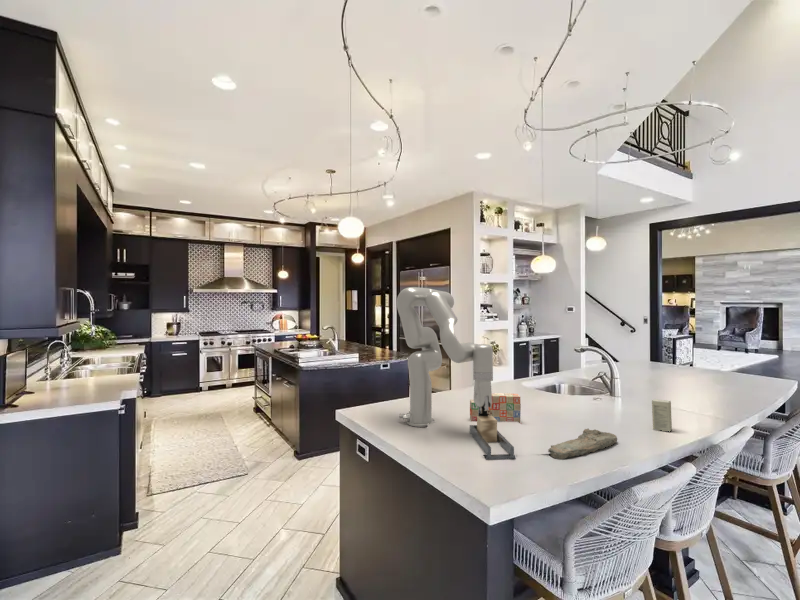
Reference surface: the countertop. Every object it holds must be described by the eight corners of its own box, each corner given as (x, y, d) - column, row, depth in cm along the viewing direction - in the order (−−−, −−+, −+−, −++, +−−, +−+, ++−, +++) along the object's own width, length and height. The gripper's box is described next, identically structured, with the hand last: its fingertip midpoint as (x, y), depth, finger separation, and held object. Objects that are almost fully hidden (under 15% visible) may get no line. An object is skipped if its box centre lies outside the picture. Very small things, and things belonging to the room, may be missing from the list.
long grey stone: (540, 457, 144) (565, 468, 135) (540, 443, 143) (565, 453, 135) (599, 435, 162) (624, 444, 154) (599, 422, 162) (624, 430, 153)
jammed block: (481, 442, 152) (481, 420, 152) (477, 437, 158) (477, 416, 158) (497, 442, 152) (496, 420, 152) (492, 436, 158) (492, 416, 158)
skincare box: (672, 430, 170) (671, 400, 170) (670, 432, 167) (669, 402, 167) (654, 427, 174) (654, 398, 175) (651, 429, 171) (651, 400, 171)
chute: (486, 459, 137) (486, 447, 138) (468, 435, 163) (468, 425, 163) (515, 459, 138) (515, 447, 138) (493, 434, 164) (493, 424, 164)
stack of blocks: (471, 423, 180) (471, 395, 180) (469, 419, 186) (469, 392, 187) (520, 424, 179) (520, 396, 179) (517, 420, 185) (517, 393, 185)
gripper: (469, 373, 168) (469, 418, 168) (478, 379, 153) (478, 429, 153) (487, 373, 168) (487, 417, 168) (498, 379, 153) (498, 428, 153)
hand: (483, 423), depth 160 cm, fingers closed
